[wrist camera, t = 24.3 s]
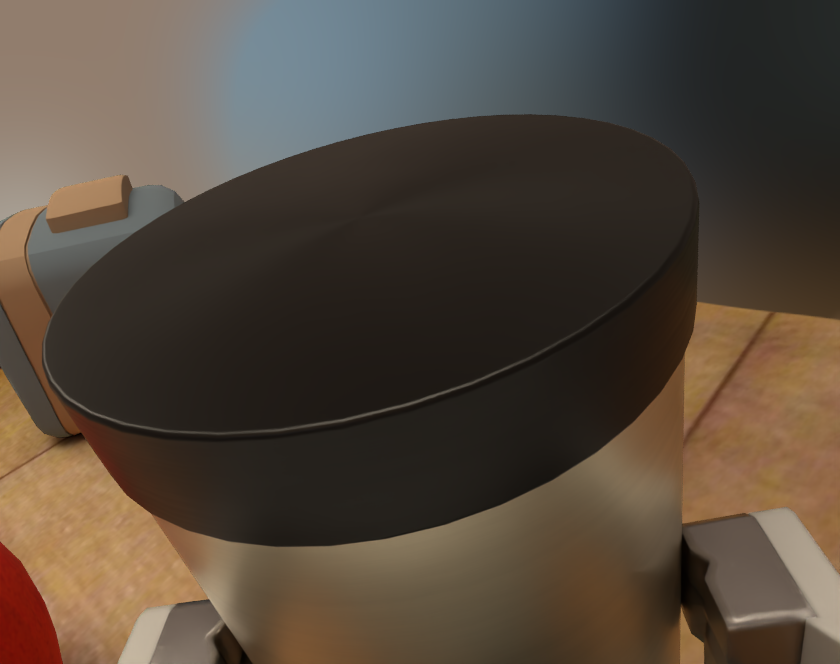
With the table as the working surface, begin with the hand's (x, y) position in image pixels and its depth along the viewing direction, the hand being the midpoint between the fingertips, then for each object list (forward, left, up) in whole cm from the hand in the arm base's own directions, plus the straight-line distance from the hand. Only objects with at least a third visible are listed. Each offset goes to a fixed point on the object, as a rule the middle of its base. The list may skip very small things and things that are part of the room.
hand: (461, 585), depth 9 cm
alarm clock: (+43, -21, -16) cm, 50 cm away
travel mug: (+1, -1, -4) cm, 5 cm away
